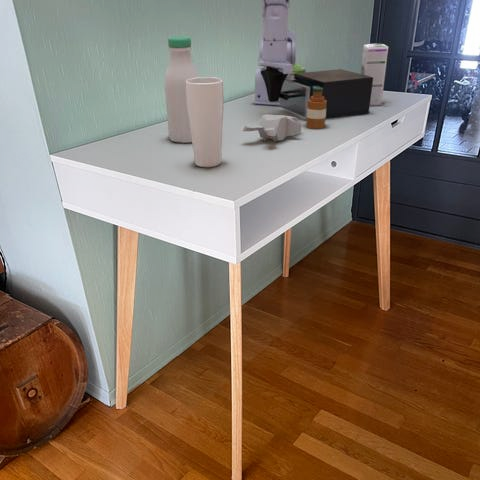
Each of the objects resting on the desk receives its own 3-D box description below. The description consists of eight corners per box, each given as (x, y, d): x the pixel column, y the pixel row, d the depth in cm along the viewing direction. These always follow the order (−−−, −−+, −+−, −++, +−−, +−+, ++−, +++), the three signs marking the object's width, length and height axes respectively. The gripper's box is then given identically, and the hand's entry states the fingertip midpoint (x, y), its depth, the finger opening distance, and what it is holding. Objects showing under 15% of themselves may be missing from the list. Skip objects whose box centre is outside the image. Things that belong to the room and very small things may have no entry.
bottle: (302, 125, 121) (304, 87, 116) (316, 123, 123) (319, 85, 118) (313, 129, 118) (316, 90, 113) (328, 127, 120) (332, 88, 115)
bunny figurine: (311, 115, 112) (276, 121, 102) (308, 139, 115) (274, 147, 104) (275, 110, 117) (238, 115, 106) (273, 133, 120) (237, 140, 109)
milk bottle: (198, 144, 109) (192, 39, 98) (164, 142, 111) (154, 39, 99) (207, 134, 115) (202, 35, 104) (175, 133, 117) (167, 35, 105)
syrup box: (381, 105, 138) (390, 45, 130) (360, 105, 138) (367, 46, 130) (377, 101, 143) (385, 43, 135) (356, 101, 143) (363, 43, 135)
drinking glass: (225, 158, 101) (223, 76, 92) (225, 169, 95) (223, 83, 87) (191, 159, 101) (186, 77, 92) (189, 170, 95) (183, 84, 87)
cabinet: (320, 119, 126) (323, 82, 121) (292, 107, 137) (294, 73, 132) (368, 113, 131) (373, 77, 126) (337, 102, 142) (340, 69, 137)
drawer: (290, 118, 123) (292, 89, 119) (266, 108, 133) (266, 80, 129) (350, 111, 129) (353, 82, 125) (322, 101, 139) (324, 74, 135)
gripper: (246, 37, 123) (247, 97, 130) (273, 44, 112) (272, 108, 119) (272, 36, 125) (271, 94, 133) (301, 42, 114) (298, 105, 122)
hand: (273, 101), depth 126 cm, fingers closed, pressing on drawer
